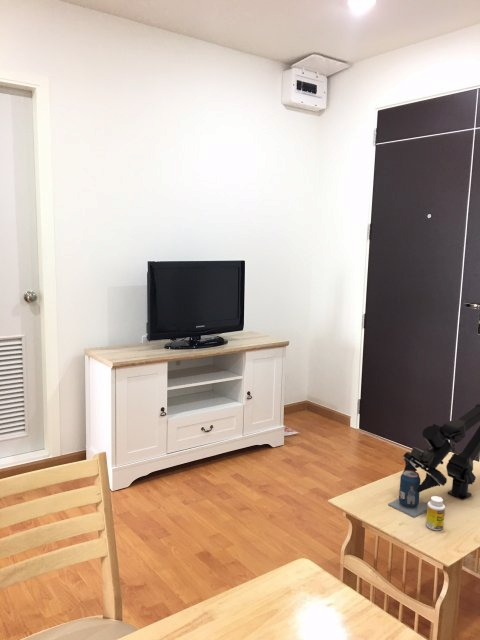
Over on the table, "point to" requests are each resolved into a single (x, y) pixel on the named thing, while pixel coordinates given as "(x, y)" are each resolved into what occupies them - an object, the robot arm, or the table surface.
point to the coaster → (409, 511)
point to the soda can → (409, 489)
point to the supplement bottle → (435, 513)
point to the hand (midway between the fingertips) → (409, 485)
